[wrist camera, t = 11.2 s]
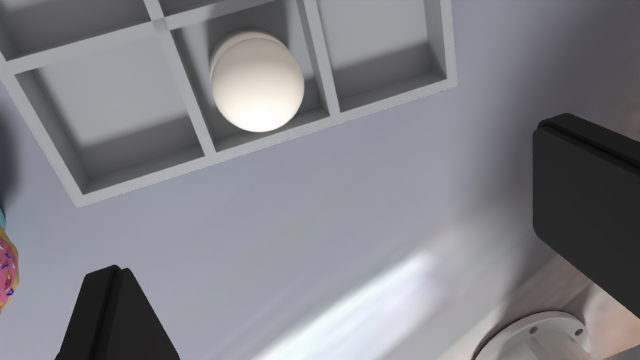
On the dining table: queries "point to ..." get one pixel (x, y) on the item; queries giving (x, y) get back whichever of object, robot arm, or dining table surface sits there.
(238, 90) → the cream egg
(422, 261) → the dining table surface
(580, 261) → the robot arm
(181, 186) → the dining table surface
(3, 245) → the cupcake
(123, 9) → the egg tray
